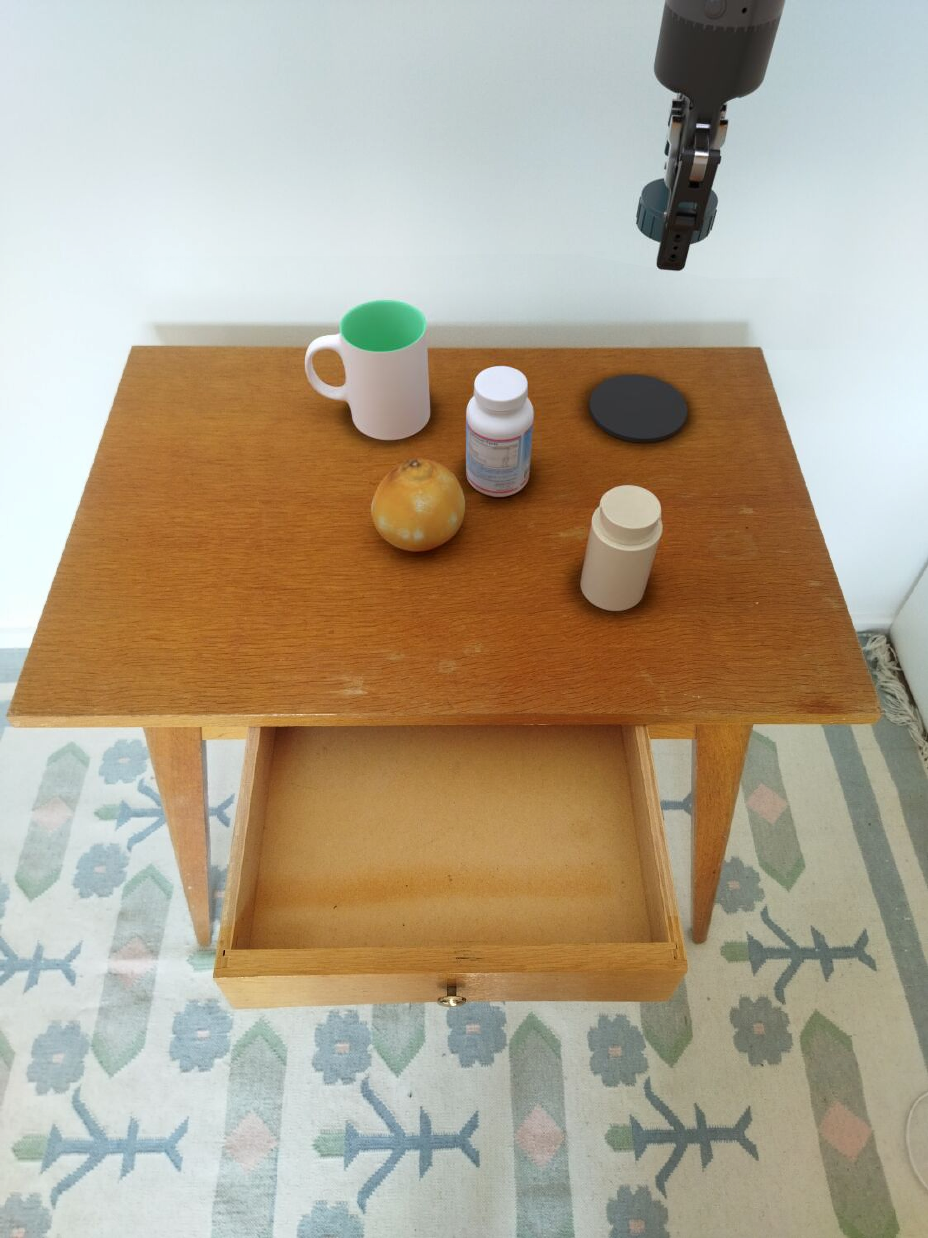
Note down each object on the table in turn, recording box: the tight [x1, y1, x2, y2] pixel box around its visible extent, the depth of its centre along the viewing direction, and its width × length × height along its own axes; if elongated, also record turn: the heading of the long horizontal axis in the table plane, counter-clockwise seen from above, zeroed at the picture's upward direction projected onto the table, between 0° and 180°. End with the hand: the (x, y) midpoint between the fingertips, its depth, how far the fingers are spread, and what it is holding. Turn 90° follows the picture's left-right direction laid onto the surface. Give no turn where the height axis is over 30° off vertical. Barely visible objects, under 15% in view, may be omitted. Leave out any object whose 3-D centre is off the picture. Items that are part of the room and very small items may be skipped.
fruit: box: [370, 457, 466, 552], centre depth 73 cm, size 8×8×8 cm
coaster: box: [588, 374, 688, 444], centre depth 85 cm, size 10×10×1 cm
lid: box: [635, 177, 719, 245], centre depth 64 cm, size 6×6×2 cm
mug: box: [304, 299, 431, 441], centre depth 80 cm, size 12×8×10 cm
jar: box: [579, 484, 663, 612], centre depth 68 cm, size 6×6×10 cm
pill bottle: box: [465, 365, 535, 498], centre depth 75 cm, size 6×6×11 cm
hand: (669, 244), depth 67 cm, fingers closed on lid, 6 cm apart
